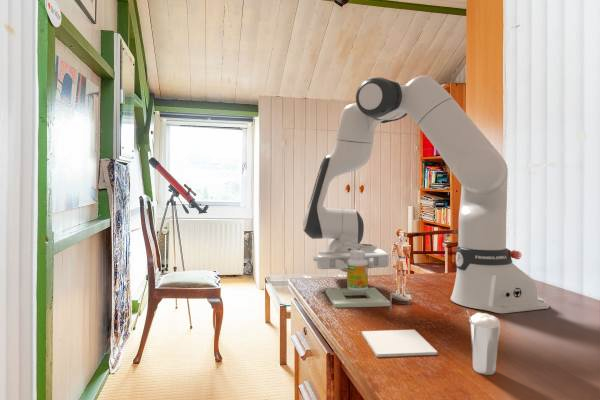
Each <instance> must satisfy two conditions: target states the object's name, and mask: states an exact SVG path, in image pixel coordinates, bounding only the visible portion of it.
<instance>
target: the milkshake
mask: <svg viewBox="0 0 600 400" xmlns="http://www.w3.org/2000/svg"><path fill="white" fill-rule="evenodd" d="M465 310H466V313H467V316H468V318H469V320H468V321H469V329H470V340H471V357H472V358H471V359H472V360H471V361H472V368H473V371H474V372H476V373H478V374H479V375H480V374H481V375H485V376H490V375H491V376H492V375H494V374H496V368H497V357H498V349H499V348H498V347H499V339H500V330H501V321H500V320H499V318H498V317H496V316H494V315H493V314H492V315H491V314H489V313H486V312H485V313H483V312H476V313H475V314H472V316H471V315H470V313H469V311H468V310H467V309H465Z"/></svg>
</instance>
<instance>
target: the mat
mask: <svg viewBox="0 0 600 400" xmlns="http://www.w3.org/2000/svg"><path fill="white" fill-rule="evenodd" d="M361 335H362V337H363V338H364V339H365V341H366V343H367V344H368V346H369V347H370V349H371V350H372V352H373V353H374V355H375V356H376V358H386V357H387V358H388V357H413V356H414V357H415V356H438V351H437V350H436V349H435V348H434V346H432V344H430V343H429V342H428V341H427V340H426V339H425V338H424V337H423V336H422V335H421V334H420V333H419V332H418V331H416V329H389V330H386V329H385V330H363V331H361Z"/></svg>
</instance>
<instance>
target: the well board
mask: <svg viewBox="0 0 600 400" xmlns="http://www.w3.org/2000/svg"><path fill="white" fill-rule="evenodd" d="M325 294H326V296H327V297H328V299H329V301H330V303H331V304H332V306H333V308H334V309H336V308H338V309H339V308H367V307H369V308H370V307H373V308H374V307H391V301H390V300H388V298H387V297H386V296H385V295H383V294H382V293H381V292H380V291H379V290H378V289H377V288H376V287H368V288H367V289H366V290H350V289H348V287H347V288H346V287H345V288H325ZM345 296H365V297H366V298H365V297H364V298H363V297H362V298H347V297H345Z"/></svg>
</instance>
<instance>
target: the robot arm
mask: <svg viewBox="0 0 600 400" xmlns="http://www.w3.org/2000/svg"><path fill="white" fill-rule="evenodd" d="M407 115H408V116H409V117H410V118H411V119H412V120H413V121H414V123H415V124H416V126H417V127H418V128H419V129H420V130H421V131H422V133H423V134H424V135H425V137H426V138H427V140H429V142H430V143H431V145H432V146H433V147H434V148H435V150H436V151H437V153H438V154H439V156H440V157H441V159H442V160H443V162H444V163H445V165H446V166H447V168H449V170H450V171H451V173H452V175H454V177H455V179H456V180H457V181H458V182H459V184H460V185H461V189H460V190H461V191H460V200H459V201H460V202H459V209H458V210H459V211H458V231H457V233H458V239H457V241H458V242H457V243H458V244H457V246H456V249H455V250H456V253H455V265H456V275H455V280H454V286H453V289H452V294H451V296H450V300H451V301H452V302H453V303H455V304H457V305H460V306H463V307H467V308H470V309H471V308H472V309H477V310H481V311H488V312H493V313H496V314H509V313H510V314H511V313H518V312H519V313H520V312H526V311H528V312H529V311H536V310H538V311H539V310H546V309H549V307H550V305H549V303H548V302H547V300H545V299H543V298H541V297H539V293H538V287H537V284H536V282H535V280H534V278H532V277H531V276H529V275H528V274H527V273H526V272H524V271H523V270H521V269H520V268H519V267H518V266H516V264H514V263H513V259H515V260H520V259H521V258H522V256H523V255H522V253H521V251H519V250H510V249H509V248H506V247H507V245H506V243H507V212H508V211H507V210H508V209H507V208H508V207H507V206H508V205H507V204H508V203H507V202H508V176H509V173H508V172H509V171H508V170H509V169H508V164H507V163H506V161H505V159H504V157H503V156H502V155H501V153H500V152H499V151H498V150H497V148H495V146H494V145H493V144H492V143H491V142H490V141H489V139H488V138H487V137H486V136H485V134H484V133H483V132H482V131H481V130H480V128H479V127H478V126H477V125H476V124H475V123H474V122H473V120H472V119H471V117H469V115H468V114H467V113H466V112H465V111H464V109H463V108H462V107H461V106H460V104H459V103H458V102H457V101H456V100H455V98H454V97H453V96H452V95H451V94H450V93H449V92H448V91H447V90H446V89H445V88H444V87H443V86H442V85H441V84H440V83H438V81H436V80H435V79H434V78H433V77H431V76H430V75H429V76H428V75H424V74H423V75H418V76H416V77H413V78H412V79H411V80H409V81H408V82H407V83H406V84H401V83H399V82H396V81H395V80H392V79H389V78H385V77H372V78H368V79H366V80H364V81H363V82H362V83H361V84H360V85H359V87H357V90H356V94H355V102H354V103H350V104H348V105H346V106H345V107H344V108H343V110H342V112H341V115H340V119H339V123H338V126H337V127H338V128H337V131H336V139H335V143H334V144H335V145H334V147H333V149H332V151H331V152H330V153H329V154H328V155H325V156H324V157H323V159H322V161H321V163H320V167H319V168H318V169H319V170H318V173H317V176H316V179H315V182H314V185H313V190H312V193H311V196H310V200H309V203H308V206H307V209H306V212H305V213H304V216H303V221H302V226H303V231H304V233H305V234H306V236H308V237H309V238H311V239H312V240H315V239H316V240H317V239H329V241H328V243H327V245H326V251H325V252H318V253H316V256H313V257H312V260H313V262H316V269H318V270H340V271H341V272H345V273H347V269H348V262H347V261H348V260H349V259H350V258H351V257H350V251H354V250H360V251H365V257H364V259H365V260H367V262H368V269H375V268H389V266H390V255H389V253H388V252H386V251H385V250H383V249H381V248H378V246H377V245H375V244H369V243H368V244H367V243H361V242H362V241H363V238H364V231H365V230H364V229H365V228H364V227H365V225H364V221H363V220H364V219H363V218H362V216H361V214H360V213H359V211H357V210H356V209H351V208H337V207H325V206H324V202H325V199H326V197H327V193H328V190H329V186H330V183H331V182H332V181H333V180H334V179H335V178H337V177H339V176H342V175H344V174H345V175H346V174H348V173H351V172H355V171H357V170H359V169H361V168H363V167H364V166H365V165H366V164H368V163H369V161H370V159H371V155H372V151H373V146H374V137H375V131H376V128H377V126H378V125H379V124H380V123H381V124H387V123H389V122H390V123H391V122H395V121H398V120H401V119H403V118H405V117H407Z"/></svg>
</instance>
